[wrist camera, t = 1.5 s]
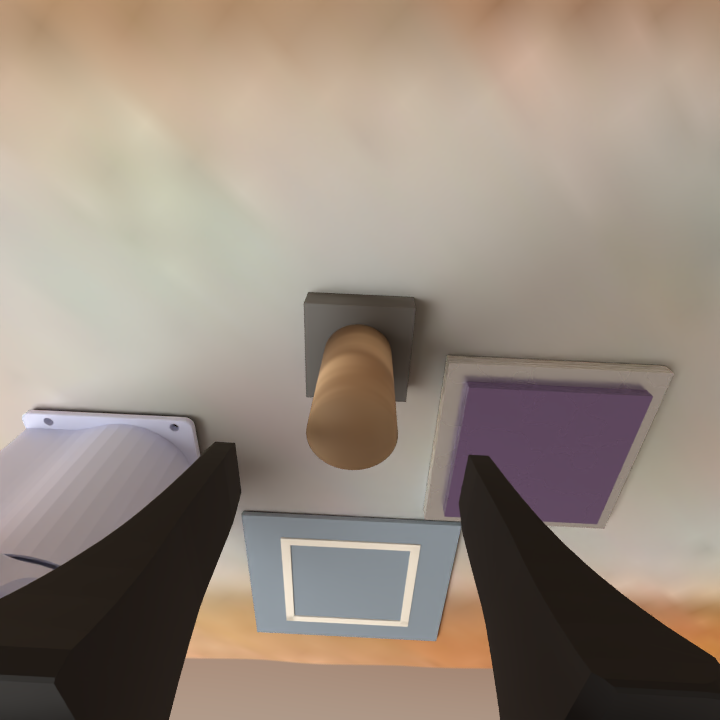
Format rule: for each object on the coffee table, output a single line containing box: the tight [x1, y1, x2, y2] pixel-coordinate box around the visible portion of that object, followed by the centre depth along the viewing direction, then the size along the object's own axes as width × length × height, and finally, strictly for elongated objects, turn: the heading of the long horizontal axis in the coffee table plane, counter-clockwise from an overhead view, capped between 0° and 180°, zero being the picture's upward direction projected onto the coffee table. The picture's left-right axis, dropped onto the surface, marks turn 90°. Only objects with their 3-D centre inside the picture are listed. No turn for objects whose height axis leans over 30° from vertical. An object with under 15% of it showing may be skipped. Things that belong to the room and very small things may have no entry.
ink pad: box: [423, 355, 674, 528], centre depth 24 cm, size 11×11×1 cm
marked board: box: [242, 511, 461, 641], centre depth 30 cm, size 14×13×1 cm
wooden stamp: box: [304, 292, 416, 470], centre depth 18 cm, size 5×5×8 cm
